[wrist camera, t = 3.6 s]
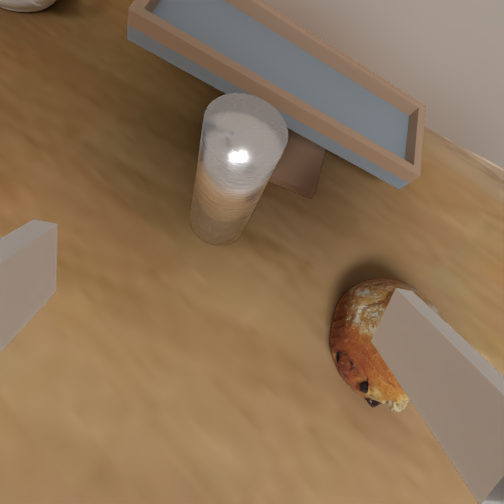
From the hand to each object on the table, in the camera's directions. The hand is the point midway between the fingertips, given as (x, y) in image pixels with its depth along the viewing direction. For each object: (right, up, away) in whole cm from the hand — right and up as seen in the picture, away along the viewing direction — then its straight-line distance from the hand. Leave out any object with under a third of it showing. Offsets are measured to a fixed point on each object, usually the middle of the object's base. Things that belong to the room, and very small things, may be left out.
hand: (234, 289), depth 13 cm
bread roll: (+12, -7, +16) cm, 21 cm away
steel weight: (-2, +4, +17) cm, 18 cm away
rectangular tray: (+4, +16, +17) cm, 24 cm away
